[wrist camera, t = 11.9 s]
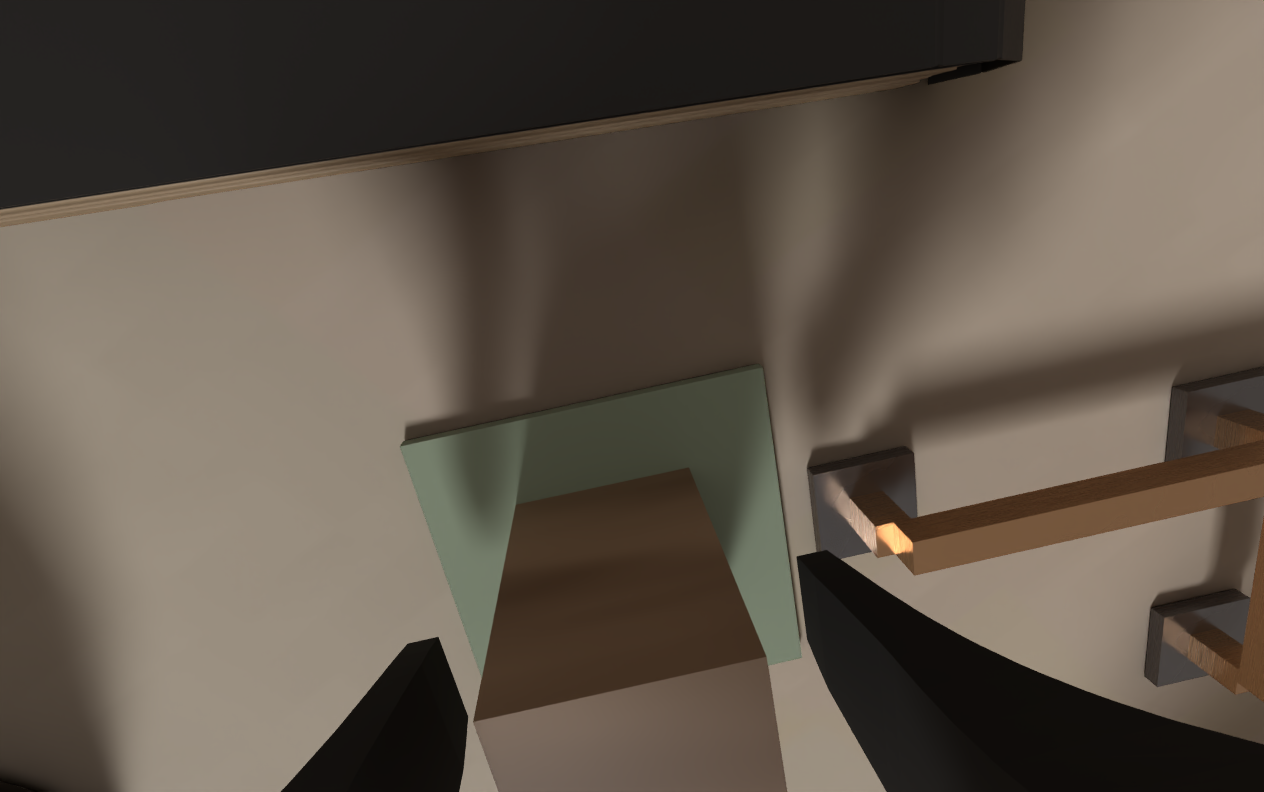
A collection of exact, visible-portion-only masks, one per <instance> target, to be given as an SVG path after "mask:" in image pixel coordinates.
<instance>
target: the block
mask: <svg viewBox="0 0 1264 792" xmlns="http://www.w3.org/2000/svg"><path fill="white" fill-rule="evenodd" d="M473 723H474V726H475V728H476V731H477V734H478V737H479V739H480V742H481V745H482V748H483V750H484V753H485V756H486V759H487V761H488V764H489V767H490V770H491V772H492V775H493V778H494V780H495V783H496V786H497V789H498V791H499V792H787V787H786V781H785V774H784V768H783V761H782V754H781V748H780V741H779V735H778V728H777V721H776V715H775V708H774V702H773V695H772V689H771V682H770V675H769V669H768V662H767V656H766V654H765V651H764V649H763V647H762V644H761V642H760V639H759V637H758V634H757V632H756V630H755V627H754V625H753V622H752V620H751V617H750V615H749V612H748V610H747V608H746V605H745V603H744V600H743V598H742V595H741V593H740V591H739V588H738V586H737V583H736V581H735V578H734V576H733V574H732V571H731V569H730V566H729V564H728V561H727V559H726V556H725V554H724V552H723V549H722V547H721V544H720V542H719V539H718V537H717V535H716V532H715V530H714V527H713V525H712V522H711V520H710V517H709V515H708V513H707V510H706V508H705V505H704V503H703V500H702V498H701V496H700V493H699V491H698V488H697V486H696V483H695V481H694V479H693V476H692V474H691V471H690V469H689V467H688V468H684V469H679V470H675V471H670V472H665V473H661V474H656V475H651V476H647V477H642V478H637V479H633V480H628V481H624V482H619V483H614V484H610V485H605V486H600V487H596V488H591V489H587V490H582V491H577V492H573V493H568V494H563V495H559V496H554V497H549V498H545V499H540V500H536V501H531V502H526V503H522V504H517V505H516V506H515V511H514V516H513V521H512V526H511V531H510V537H509V542H508V547H507V552H506V557H505V562H504V567H503V572H502V578H501V583H500V588H499V593H498V598H497V603H496V608H495V613H494V618H493V624H492V629H491V634H490V639H489V644H488V649H487V654H486V659H485V664H484V670H483V675H482V680H481V685H480V690H479V695H478V700H477V705H476V711H475V716H474V721H473Z"/></svg>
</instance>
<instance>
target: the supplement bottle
mask: <svg viewBox="0 0 1264 792" xmlns="http://www.w3.org/2000/svg"><path fill="white" fill-rule="evenodd" d="M0 792H34V791H31V790H29V789H25V788H22V787H19V786H16V785H12V784H8V783H4V782H0Z"/></svg>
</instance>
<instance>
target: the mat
mask: <svg viewBox="0 0 1264 792" xmlns="http://www.w3.org/2000/svg"><path fill="white" fill-rule="evenodd" d="M400 448H401V451H402V454H403V457H404V460H405V463H406V465H407V468H408V471H409V474H410V477H411V479H412V482H413V485H414V488H415V491H416V494H417V496H418V499H419V502H420V505H421V508H422V510H423V513H424V516H425V519H426V522H427V525H428V527H429V530H430V533H431V536H432V539H433V542H434V544H435V547H436V550H437V553H438V556H439V558H440V561H441V564H442V567H443V570H444V573H445V575H446V578H447V581H448V584H449V587H450V589H451V592H452V595H453V598H454V601H455V604H456V606H457V609H458V612H459V615H460V618H461V620H462V623H463V626H464V629H465V632H466V635H467V637H468V640H469V643H470V646H471V649H472V651H473V654H474V657H475V660H476V663H477V666H478V668H479V671H480V674H481V677H482V675H483V670H484V664H485V659H486V654H487V649H488V644H489V639H490V634H491V629H492V624H493V618H494V613H495V608H496V603H497V598H498V593H499V588H500V583H501V578H502V572H503V567H504V562H505V557H506V552H507V547H508V542H509V537H510V531H511V526H512V521H513V516H514V511H515V506H516V505H517V504H522V503H526V502H531V501H536V500H540V499H545V498H549V497H554V496H559V495H563V494H568V493H573V492H577V491H582V490H587V489H591V488H596V487H600V486H605V485H610V484H614V483H619V482H624V481H628V480H633V479H637V478H642V477H647V476H651V475H656V474H661V473H665V472H670V471H675V470H679V469H684V468H688V467H689V469H690V471H691V474H692V476H693V479H694V481H695V483H696V486H697V488H698V491H699V493H700V496H701V498H702V500H703V503H704V505H705V508H706V510H707V513H708V515H709V517H710V520H711V522H712V525H713V527H714V530H715V532H716V535H717V537H718V539H719V542H720V544H721V547H722V549H723V552H724V554H725V556H726V559H727V561H728V564H729V566H730V569H731V571H732V574H733V576H734V578H735V581H736V583H737V586H738V588H739V591H740V593H741V595H742V598H743V600H744V603H745V605H746V608H747V610H748V612H749V615H750V617H751V620H752V622H753V625H754V627H755V630H756V632H757V634H758V637H759V639H760V642H761V644H762V647H763V649H764V651H765V654H766V656H767V662H768V665H772V664H777V663H781V662H786V661H790V660H794V659H799V658H802V655H801V647H800V640H799V633H798V625H797V618H796V610H795V603H794V595H793V588H792V581H791V573H790V566H789V558H788V551H787V544H786V536H785V529H784V521H783V514H782V507H781V499H780V492H779V484H778V477H777V470H776V462H775V455H774V447H773V440H772V433H771V425H770V418H769V410H768V403H767V395H766V388H765V381H764V373H763V367H762V366H761V365H760V364H755V365H751V366H746V367H742V368H737V369H732V370H728V371H723V372H719V373H714V374H709V375H705V376H700V377H696V378H691V379H687V380H682V381H677V382H673V383H668V384H664V385H659V386H654V387H650V388H645V389H641V390H636V391H632V392H627V393H622V394H618V395H613V396H609V397H604V398H599V399H595V400H590V401H586V402H581V403H577V404H572V405H567V406H563V407H558V408H554V409H549V410H544V411H540V412H535V413H531V414H526V415H522V416H517V417H512V418H508V419H503V420H499V421H494V422H489V423H485V424H480V425H476V426H471V427H467V428H462V429H457V430H453V431H448V432H444V433H439V434H434V435H430V436H425V437H421V438H416V439H412V440H407V441H403V443H402V444H401V446H400Z"/></svg>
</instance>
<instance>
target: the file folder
mask: <svg viewBox="0 0 1264 792" xmlns="http://www.w3.org/2000/svg"><path fill="white" fill-rule="evenodd" d="M1024 14H1025V0H0V227H4V226H11V225H18V224H24V223H31V222H37V221H44V220H50V219H57V218H63V217H70V216H76V215H83V214H90V213H96V212H103V211H109V210H116V209H122V208H129V207H135V206H141V205H147V204H152V203H157V202H162V201H167V200H174V199H180V198H187V197H193V196H200V195H206V194H213V193H219V192H226V191H233V190H239V189H246V188H252V187H259V186H265V185H272V184H279V183H285V182H292V181H298V180H305V179H311V178H318V177H324V176H331V175H338V174H344V173H351V172H357V171H364V170H370V169H377V168H383V167H390V166H397V165H403V164H410V163H416V162H423V161H429V160H436V159H442V158H449V157H456V156H462V155H469V154H475V153H482V152H488V151H495V150H501V149H508V148H514V147H521V146H527V145H534V144H541V143H547V142H554V141H560V140H567V139H573V138H580V137H586V136H593V135H599V134H606V133H612V132H619V131H625V130H632V129H638V128H645V127H651V126H658V125H664V124H671V123H677V122H684V121H690V120H697V119H703V118H710V117H716V116H723V115H729V114H736V113H742V112H749V111H755V110H762V109H768V108H775V107H781V106H788V105H794V104H801V103H807V102H813V101H820V100H826V99H833V98H839V97H846V96H852V95H859V94H865V93H871V92H878V91H884V90H891V89H897V88H901V87H903V86H906V85H912V84H916V83H919V82H920V80H921V79H925V78H928V84H934V83H938V82H943V81H947V80H952V79H957V78H961V77H966V76H970V75H975V74H980V73H981V72H987V71H990V70H994V69H997V68H1000V67H1003V66H1006V65H1010V64H1013V63H1016V62H1019V61H1021V60H1022V51H1023V32H1024Z"/></svg>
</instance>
